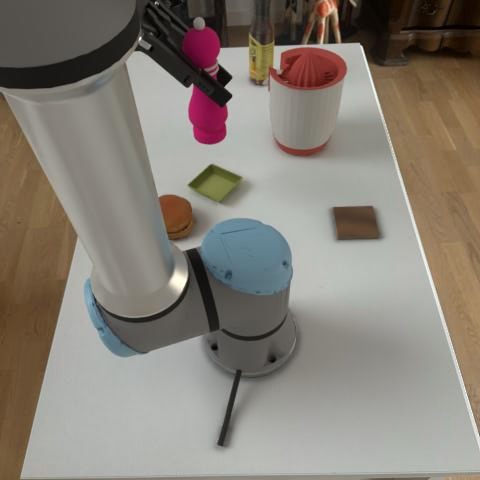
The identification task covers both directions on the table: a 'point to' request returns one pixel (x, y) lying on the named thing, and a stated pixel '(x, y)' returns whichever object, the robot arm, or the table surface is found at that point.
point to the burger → (176, 215)
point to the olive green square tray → (215, 182)
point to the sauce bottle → (261, 42)
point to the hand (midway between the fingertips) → (227, 91)
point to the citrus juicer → (305, 98)
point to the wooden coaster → (355, 222)
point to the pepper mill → (200, 106)
